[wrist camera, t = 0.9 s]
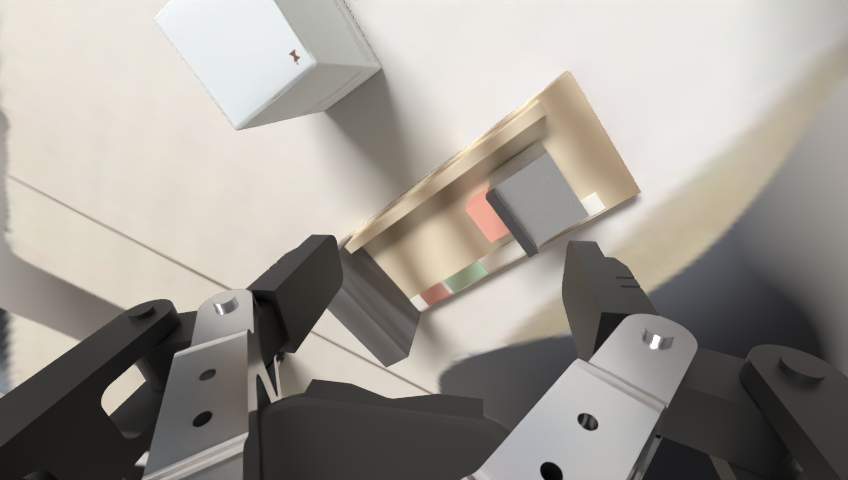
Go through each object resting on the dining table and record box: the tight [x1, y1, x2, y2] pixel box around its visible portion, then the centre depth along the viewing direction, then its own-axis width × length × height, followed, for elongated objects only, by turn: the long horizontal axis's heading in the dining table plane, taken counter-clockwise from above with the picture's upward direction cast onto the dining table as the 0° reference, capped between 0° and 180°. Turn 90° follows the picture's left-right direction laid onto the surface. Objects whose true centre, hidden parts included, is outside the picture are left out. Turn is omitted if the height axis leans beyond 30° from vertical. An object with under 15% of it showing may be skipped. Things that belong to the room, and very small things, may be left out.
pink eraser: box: [465, 187, 510, 243], centre depth 31 cm, size 2×4×2 cm, turn 39°
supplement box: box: [154, 0, 381, 130], centre depth 24 cm, size 7×7×13 cm
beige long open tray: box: [327, 71, 641, 367], centre depth 31 cm, size 28×12×8 cm, turn 129°
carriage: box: [486, 140, 589, 257], centre depth 27 cm, size 5×6×6 cm
